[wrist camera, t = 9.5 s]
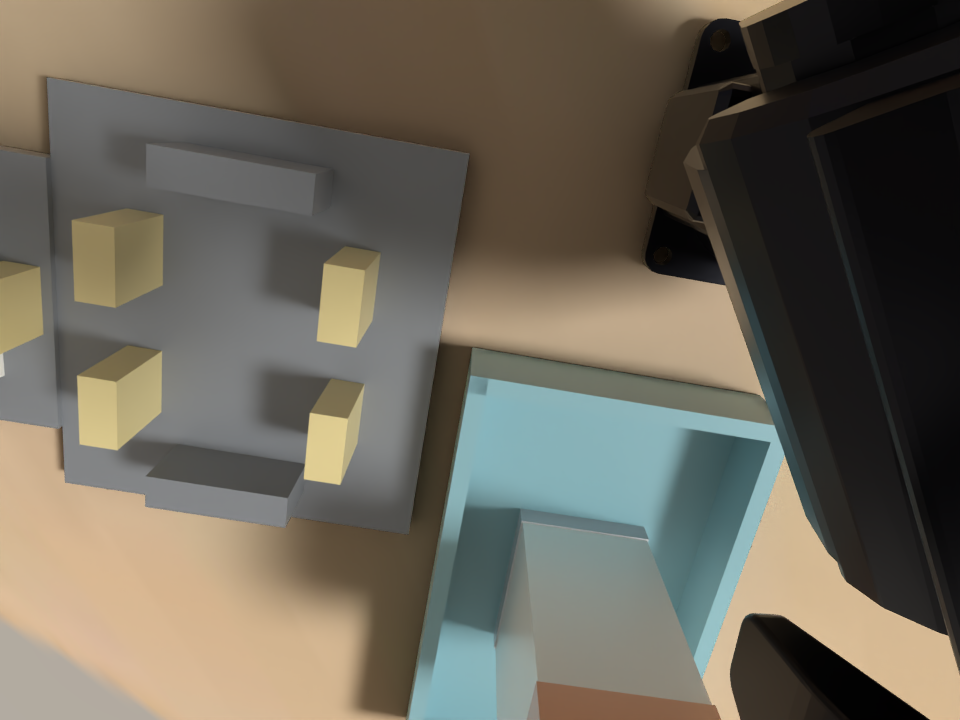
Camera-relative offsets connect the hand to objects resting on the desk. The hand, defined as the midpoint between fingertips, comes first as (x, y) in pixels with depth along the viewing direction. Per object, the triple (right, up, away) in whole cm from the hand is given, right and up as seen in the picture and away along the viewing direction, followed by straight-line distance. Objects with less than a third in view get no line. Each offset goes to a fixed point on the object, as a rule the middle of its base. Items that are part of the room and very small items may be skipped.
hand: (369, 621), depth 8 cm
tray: (+4, -4, +15) cm, 16 cm away
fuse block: (-9, +5, +12) cm, 15 cm away
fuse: (+4, -4, +14) cm, 16 cm away
